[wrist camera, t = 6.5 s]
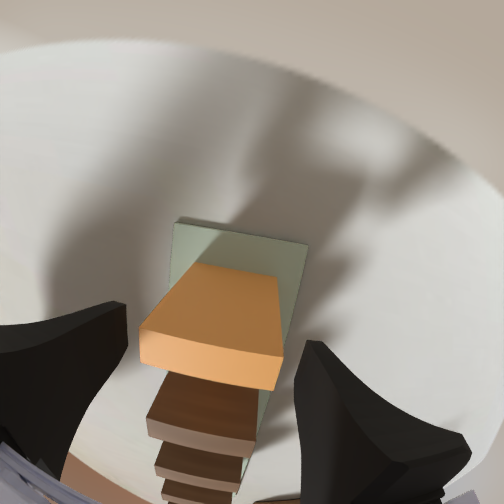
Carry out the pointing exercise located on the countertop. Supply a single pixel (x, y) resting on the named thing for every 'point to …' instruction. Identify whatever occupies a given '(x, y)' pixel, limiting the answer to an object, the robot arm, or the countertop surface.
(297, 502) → the wooden block
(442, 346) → the countertop surface
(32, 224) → the countertop surface
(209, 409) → the domino
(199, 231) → the mat
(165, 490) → the domino
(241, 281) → the orange domino
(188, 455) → the domino
